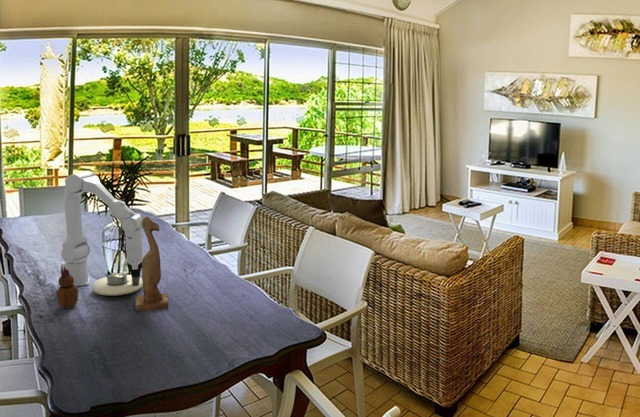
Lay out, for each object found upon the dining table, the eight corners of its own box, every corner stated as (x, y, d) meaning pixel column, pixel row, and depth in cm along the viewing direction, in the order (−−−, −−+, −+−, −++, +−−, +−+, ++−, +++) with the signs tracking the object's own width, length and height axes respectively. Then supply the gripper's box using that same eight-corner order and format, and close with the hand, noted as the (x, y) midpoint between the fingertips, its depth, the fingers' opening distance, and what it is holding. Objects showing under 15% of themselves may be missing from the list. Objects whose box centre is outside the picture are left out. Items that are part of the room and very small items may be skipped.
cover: (103, 284, 215) (103, 277, 214) (114, 278, 221) (114, 271, 221) (119, 286, 213) (119, 279, 212) (130, 280, 219) (130, 273, 219)
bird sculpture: (170, 309, 200) (169, 220, 194) (135, 312, 196) (133, 221, 190) (167, 298, 211) (166, 212, 204) (134, 301, 207) (131, 214, 200)
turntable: (81, 292, 212) (81, 280, 211) (112, 276, 228) (112, 265, 227) (124, 297, 207) (123, 285, 206) (152, 281, 223) (151, 270, 222)
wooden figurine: (65, 311, 197) (61, 269, 193) (54, 307, 200) (50, 266, 196) (82, 305, 202) (78, 264, 199) (72, 301, 205) (68, 261, 202)
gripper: (145, 252, 208) (147, 287, 211) (145, 240, 221) (146, 274, 224) (125, 253, 206) (127, 289, 209) (126, 242, 219) (127, 275, 222)
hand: (136, 281), depth 216 cm, fingers closed, pressing on turntable
